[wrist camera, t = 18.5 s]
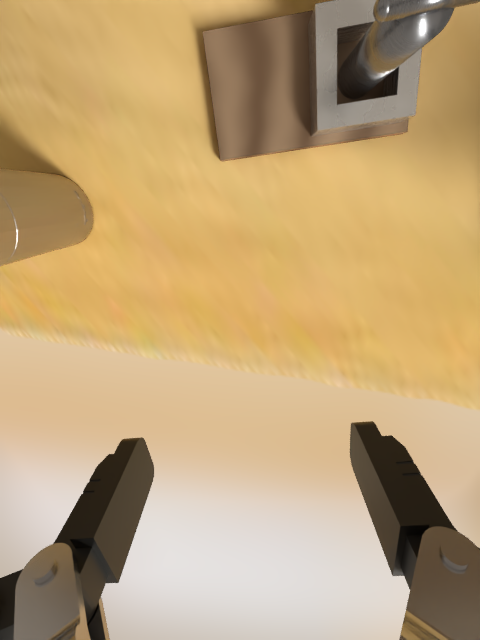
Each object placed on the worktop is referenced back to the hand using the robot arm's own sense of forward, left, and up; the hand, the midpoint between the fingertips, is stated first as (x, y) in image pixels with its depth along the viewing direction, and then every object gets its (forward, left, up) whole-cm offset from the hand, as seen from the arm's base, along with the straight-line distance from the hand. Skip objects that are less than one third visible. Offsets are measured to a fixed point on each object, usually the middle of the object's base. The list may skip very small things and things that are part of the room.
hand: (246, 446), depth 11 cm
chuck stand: (+9, +19, -33) cm, 39 cm away
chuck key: (+14, +19, -32) cm, 39 cm away
